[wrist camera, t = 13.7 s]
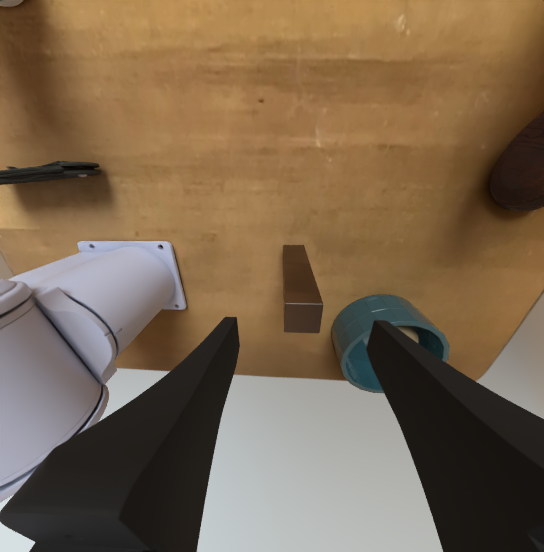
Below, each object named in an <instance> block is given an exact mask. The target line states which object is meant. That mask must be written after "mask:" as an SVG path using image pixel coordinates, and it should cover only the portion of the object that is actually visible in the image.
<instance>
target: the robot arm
mask: <svg viewBox="0 0 544 552" xmlns="http://www.w3.org/2000/svg"><path fill="white" fill-rule="evenodd" d="M77 245H78V248H79V250H80V253H77V254H74V255H72V256H69V257H66V258H63V259H61V260H58V261H55V262H52V263H50V264H47V265H44V266H41V267H39V268H36V269H33V270H30V271H28V272H25V273H22V274H20V275H17V276H15V277H13V278H11V279H9V280H5V279H0V502H2V501H3V500H5V499H7V498H8V497H10V496H12V495H14V496H13V497H12V498H11V499H10V500H9V502H8V503H7V504H6V505H5V506H4V507H3V509H2V510H1V512H0V522H1V523H2V524H4V525H5V526H7V527H8V528H10V529H12V530H14V531H15V532H18V533H19V534H22V535H23V536H25V537H27V538H29V539H31V540H33V541H35V542H36V543H35V544H34V546H33V547H32V549H31V550H30V551H29V552H197V545H198V539H199V533H200V527H201V521H202V515H203V509H204V503H205V497H206V492H207V486H208V481H209V475H210V469H211V465H212V459H213V454H214V449H215V444H216V439H217V434H218V429H219V424H220V420H221V416H222V412H223V408H224V404H225V401H226V398H227V394H228V391H229V387H230V384H231V381H232V378H233V374H234V371H235V367H236V364H237V358H238V353H239V347H240V344H239V335H238V326H237V317H225V318H224V319H223V320H222V321H221V322H220V323H219V324H218V325H217V326H216V328H215V329H214V330H213V331H212V332H211V333H210V334H209V335H208V336H207V337H206V338H205V340H204V341H203V342H202V343H201V344H200V345H199V346H198V347H197V348H196V349H195V350H194V351H193V352H192V353H191V354H189V355H188V356H187V357H186V358H185V359H184V360H183V361H182V362H181V363H180V364H179V365H178V366H176V367H175V368H174V369H173V370H172V371H171V372H169V373H168V374H167V375H166V376H164V377H163V378H162V379H161V380H159V381H158V382H157V383H155V384H154V385H153V386H151V387H150V388H149V389H147V390H146V391H144V392H143V393H142V394H140V395H139V396H138V397H136V398H135V399H133V400H132V401H130V402H129V403H127V404H126V405H124V406H123V407H122V408H120V409H118V410H117V411H115V412H114V413H112V414H111V415H109V416H107V417H106V418H104V419H103V420H101V421H99V420H100V418H101V416H102V415H103V413H104V410H105V408H106V406H107V403H108V399H109V392H108V388H107V386H106V385H105V384H106V382H107V381H108V380H109V379H110V378H111V377H112V375H113V374H114V373H115V372H116V371H117V369H116V367H115V365H114V360H115V359H116V358H117V357H118V356H119V355H120V354H121V353H122V352H123V351H124V349H125V348H126V347H127V346H128V345H129V344H130V343H131V342H132V341H133V340H134V339H135V338H136V336H137V335H138V334H139V333H140V332H141V331H142V330H143V329H144V328H145V327H146V326H147V324H148V323H149V322H150V321H151V320H152V319H153V318H154V317H155V316H156V315H157V314H158V313H159V311H160V310H161V309H170V310H184V309H185V308H186V306H187V304H186V300H185V296H184V292H183V288H182V284H181V280H180V276H179V272H178V267H177V263H176V259H175V255H174V251H173V247H172V244H171V243H170V242H167V241H81V242H78V244H77ZM93 245H94V247H93ZM160 245H162V246H163V248H161V247H160ZM176 304H177V305H178V306H177V305H176ZM366 351H367V354H368V357H369V360H370V363H371V366H372V368H373V371H374V373H375V375H376V377H377V379H378V381H379V383H380V385H381V387H382V389H383V391H384V393H385V395H386V397H387V399H388V401H389V404H390V406H391V408H392V410H393V412H394V414H395V416H396V418H397V420H398V423H399V424H400V427H401V430H402V432H403V435H404V437H405V440H406V442H407V445H408V448H409V450H410V453H411V456H412V458H413V461H414V464H415V467H416V469H417V472H418V475H419V478H420V481H421V483H422V486H423V489H424V492H425V495H426V498H427V501H428V504H429V507H430V510H431V513H432V516H433V520H434V523H435V526H436V529H437V533H438V536H439V539H440V542H441V545H442V549H443V552H544V419H542V418H540V417H538V416H536V415H534V414H533V413H531V412H529V411H527V410H525V409H523V408H521V407H520V406H517V405H516V404H514V403H512V402H510V401H508V400H506V399H505V398H503V397H501V396H499V395H498V394H496V393H494V392H492V391H490V390H489V389H487V388H485V387H484V386H482V385H480V384H479V383H477V382H475V381H474V380H472V379H470V378H469V377H467V376H466V375H464V374H462V373H461V372H459V371H458V370H456V369H455V368H453V367H452V366H450V365H449V364H447V363H446V362H444V361H443V360H441V359H440V358H438V357H437V356H435V355H434V354H432V353H431V352H430V351H428V350H427V349H425V348H424V347H422V346H421V345H420V344H418V343H417V342H416V341H414V340H413V339H412V338H410V337H409V336H407V335H406V334H405V333H403V332H402V331H401V330H399V329H398V328H397V327H395V326H394V325H392V324H391V323H389V322H388V321H386V320H374V322H373V326H372V329H371V333H370V336H369V340H368V343H367V347H366ZM98 421H99V422H98Z"/></svg>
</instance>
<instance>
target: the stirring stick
mask: <svg viewBox="0 0 544 552" xmlns="http://www.w3.org/2000/svg"><path fill="white" fill-rule="evenodd" d="M283 298H284V332H293V333H319V332H320V325H321V318H322V310H323V302H322V299H321V296H320V293H319V290H318V287H317V284H316V281H315V278H314V275H313V272H312V269H311V266H310V263H309V260H308V257H307V254H306V251H305V248H304V245H284V246H283Z"/></svg>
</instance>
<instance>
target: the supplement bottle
mask: <svg viewBox="0 0 544 552" xmlns="http://www.w3.org/2000/svg"><path fill="white" fill-rule="evenodd" d="M23 1H24V0H0V6H4V7H13V6H16V5H19V4H20V3H21V2H23Z"/></svg>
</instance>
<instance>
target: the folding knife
mask: <svg viewBox="0 0 544 552" xmlns="http://www.w3.org/2000/svg"><path fill="white" fill-rule="evenodd" d="M97 167H100V166H99V165H98V164H97V163H88V162H65V161H57V162H53V163H50V164H46V165H42V166H38V167H28V168H20V169H18V168H15V167H7V168H8V169H10V170H2V171H0V185H3V184H17V183H28V182H38V181H47V180H56V179H65V178H74V177H86V176H92V175H99V174H101V173H102V172H101V171H97V170H95V169H94V168H97Z"/></svg>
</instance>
